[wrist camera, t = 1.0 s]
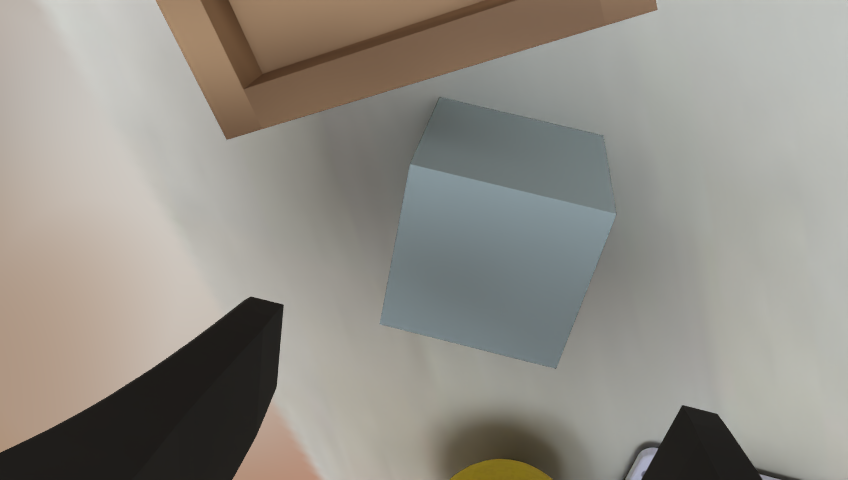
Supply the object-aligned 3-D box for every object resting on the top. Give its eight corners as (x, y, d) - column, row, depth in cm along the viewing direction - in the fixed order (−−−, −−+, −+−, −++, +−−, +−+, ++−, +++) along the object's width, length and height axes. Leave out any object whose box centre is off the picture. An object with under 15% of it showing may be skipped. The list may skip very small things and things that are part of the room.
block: (555, 269, 20) (556, 368, 16) (411, 234, 20) (379, 324, 17) (603, 134, 18) (616, 213, 14) (440, 95, 18) (409, 163, 14)
